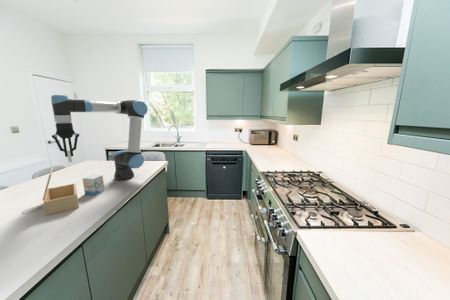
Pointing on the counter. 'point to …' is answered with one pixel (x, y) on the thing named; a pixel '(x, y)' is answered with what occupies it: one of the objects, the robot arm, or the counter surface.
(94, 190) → the ink box
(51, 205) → the box
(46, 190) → the lid
